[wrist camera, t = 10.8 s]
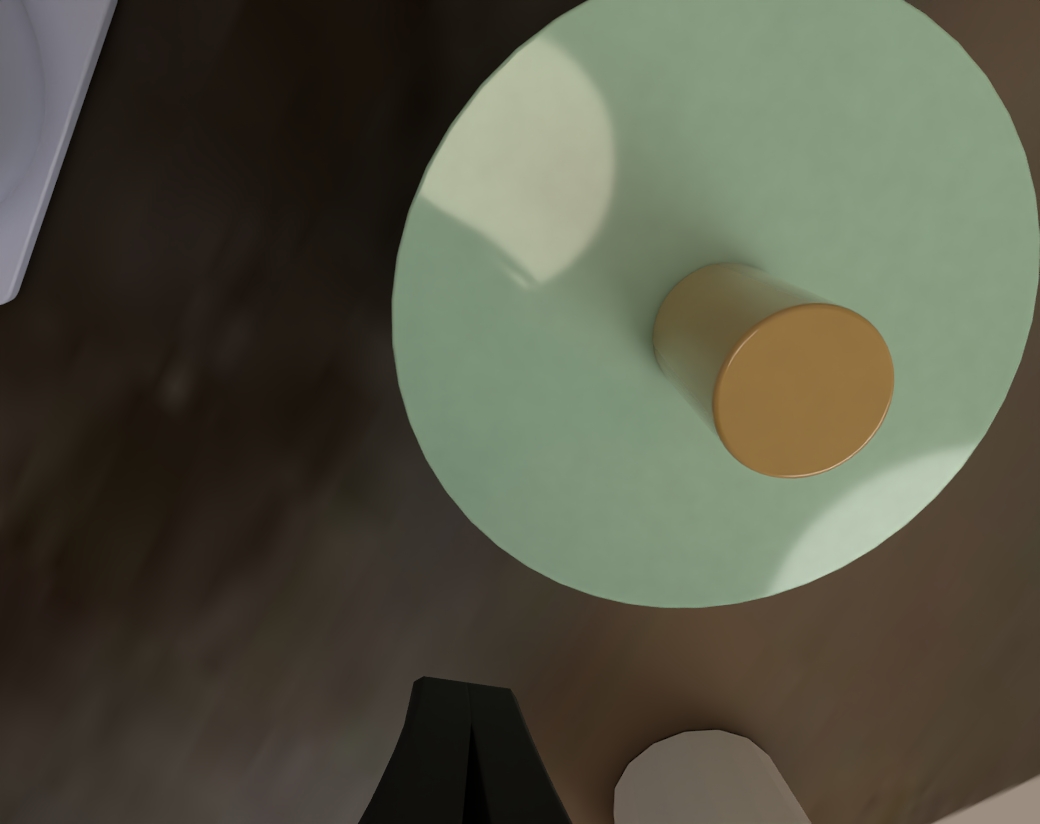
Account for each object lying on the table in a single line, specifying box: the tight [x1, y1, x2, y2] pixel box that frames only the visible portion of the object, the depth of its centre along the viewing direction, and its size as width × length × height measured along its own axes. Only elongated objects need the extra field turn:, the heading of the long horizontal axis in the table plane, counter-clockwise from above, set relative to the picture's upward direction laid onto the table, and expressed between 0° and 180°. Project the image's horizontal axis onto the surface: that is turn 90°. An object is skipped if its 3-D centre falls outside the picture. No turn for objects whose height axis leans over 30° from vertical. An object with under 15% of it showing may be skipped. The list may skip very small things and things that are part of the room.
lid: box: [391, 0, 1040, 608], centre depth 12 cm, size 11×11×4 cm
